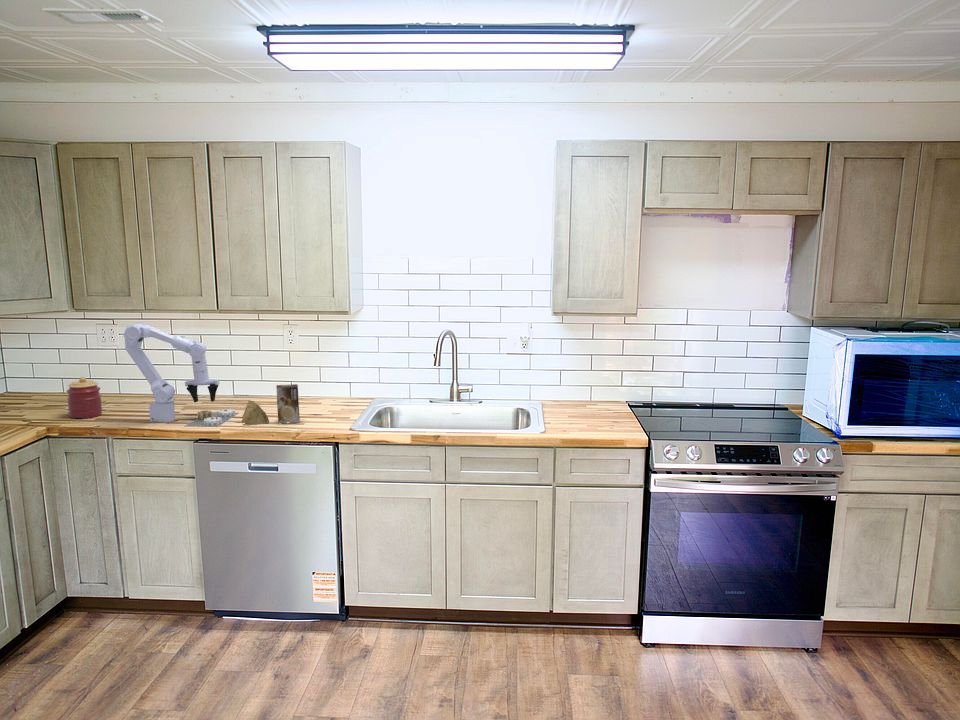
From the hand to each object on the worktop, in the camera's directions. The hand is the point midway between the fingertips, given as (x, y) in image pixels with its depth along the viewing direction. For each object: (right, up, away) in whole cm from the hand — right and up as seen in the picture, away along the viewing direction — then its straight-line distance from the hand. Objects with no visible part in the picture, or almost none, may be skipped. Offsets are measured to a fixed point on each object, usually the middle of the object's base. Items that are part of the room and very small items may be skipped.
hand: (204, 401), depth 286 cm
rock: (+23, -10, -2) cm, 25 cm away
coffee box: (+36, -9, +2) cm, 37 cm away
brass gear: (0, -8, +1) cm, 8 cm away
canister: (-56, -7, +7) cm, 57 cm away
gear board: (+4, -9, 0) cm, 9 cm away
